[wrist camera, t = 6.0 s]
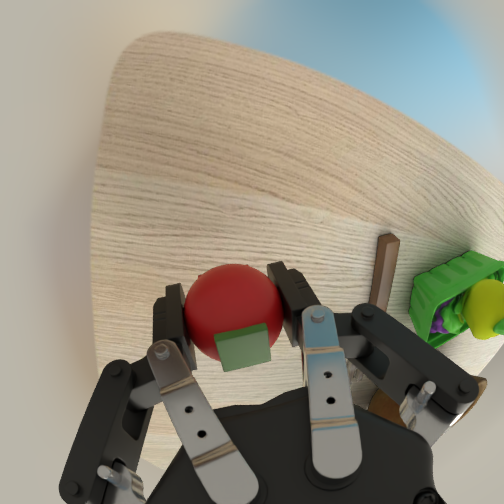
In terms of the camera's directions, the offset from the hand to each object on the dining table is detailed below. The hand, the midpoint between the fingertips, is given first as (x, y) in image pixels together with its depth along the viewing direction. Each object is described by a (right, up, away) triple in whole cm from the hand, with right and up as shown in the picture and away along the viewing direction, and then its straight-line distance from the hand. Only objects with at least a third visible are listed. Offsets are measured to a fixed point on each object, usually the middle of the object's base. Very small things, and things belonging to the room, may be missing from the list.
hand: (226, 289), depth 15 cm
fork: (+13, -4, +13) cm, 19 cm away
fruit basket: (+21, -1, +13) cm, 25 cm away
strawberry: (0, 0, 0) cm, 0 cm away
